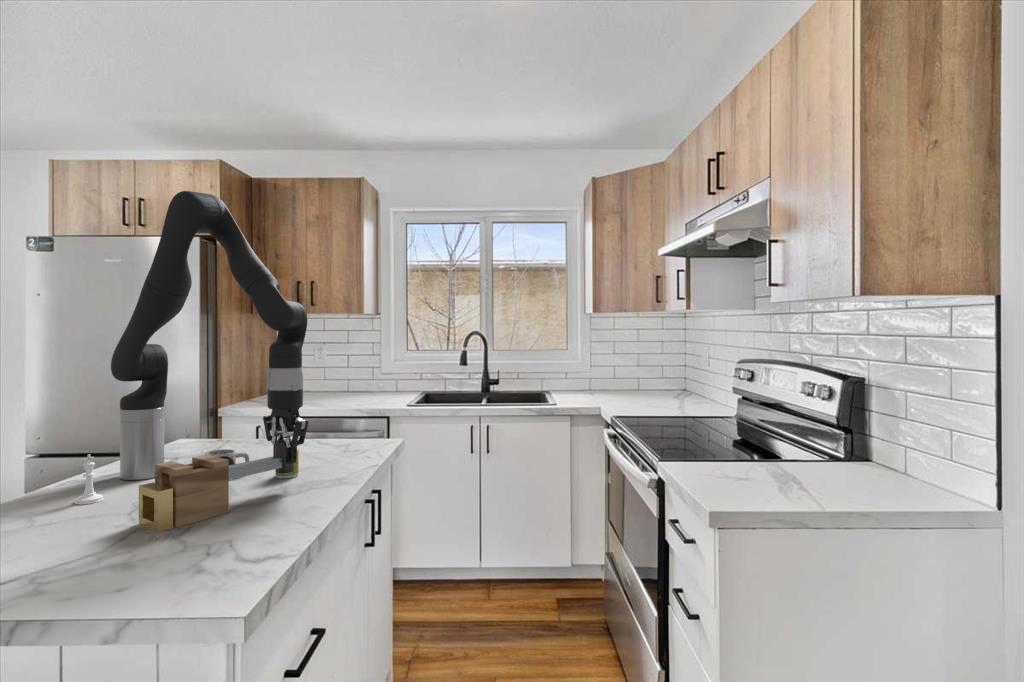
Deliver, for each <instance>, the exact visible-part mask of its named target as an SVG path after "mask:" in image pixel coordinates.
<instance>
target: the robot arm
mask: <svg viewBox="0 0 1024 682" xmlns="http://www.w3.org/2000/svg"><path fill="white" fill-rule="evenodd" d="M167 207H168V208H167V211H166V214H165V218H164V222H163V227H162V231H161V234H160V235H161V236H160V239H159V241H158V245H157V249H156V252H155V254H154V257H153V260H152V263H151V266H150V268H149V271H148V273H147V275H146V277H145V279H144V283H143V285H142V287H141V291H140V293H139V296H138V299H137V303H136V305H135V307H134V310H133V312H132V315H131V317H130V319H129V321H128V324H127V326H126V327H125V330H124V331H123V333H122V335H121V337H120V339H119V340H118V342H117V345H116V346H115V348H114V351H113V354H112V357H111V361H110V371H111V375H112V377H113V378H114V379H115V380H118V381H120V382H127V383H128V382H141V384H140V386H139V387H138V388H137V389H135V390H134V391H132V392H131V393H128V394H125V395H124V396H122V397H120V401H119V459H120V460H119V478H120V479H121V480H122V481H123V480H124V481H139V480H147V479H154V478H155V464H159V463H165V400H166V398H167V397H166V396H167V392H168V391H167V390H168V375H169V358H168V353H167V351H166V349H165V348H164V347H163V346H162V345H161V344H157V343H148V342H149V341H150V339H151V338H152V336H153V335H155V333H156V332H158V331H159V330H160V329H161V328H162V327H164V326H165V325H166V324H168V323H169V322H171V321H172V320H173V319H174V318H175V317H176V316H177V315H178V314H179V313H180V312H181V311H182V309H183V307H184V306H185V303H186V301H187V299H188V297H189V294H190V291H191V289H192V280H193V279H192V274H191V270H190V266H189V263H188V262H189V261H188V255H189V250H190V247H191V245H192V241H193V239H194V237H195V235H197V234H205V235H208V234H209V235H210V236H212V237H213V239H214V240H216V241H217V242H218V243H219V244H220V245H221V246H222V248H223V249H224V251H225V254H226V257H227V261H228V267H229V270H230V273H231V275H232V276H233V278H234V280H235V282H236V283H238V284H239V287H241V288H242V289H243V291H244V292H245V293H246V294H247V296H248V297H249V298H250V299H251V301H252V303H253V306H254V308H255V309H256V311H257V313H258V315H259V317H260V319H261V321H263V322H264V324H265V325H267V326H268V328H270V329H271V330H274V331H277V334H276V335H277V336H276V337H277V338H276V340H275V342H273V343H271V344H270V345H269V350H268V373H267V409H269V410H271V413H270V415H264V416H263V418H262V421H263V425H264V430H265V431H264V432H265V436H266V441H267V442H271V445H273V446H272V447H273V449H272V451H273V455H272V457H273V456H275V441H277V440H283V439H284V438H285V439H286V446H287V448H286V463H287V464H292V463H295V462H296V460H297V446H298V447H299V446H300V445H304V443H305V440H306V439H305V438H306V435H307V430H308V426H309V421H308V419H303V418H301V415H300V412H299V409H301V408H303V406H304V374H303V345H304V344H305V338H306V333H307V330H308V329H307V328H308V314H307V311H306V309H305V307H304V306H303V305H302V304H301V303H300V302H297V301H292V300H287V299H285V297H284V296H283V295H282V294H281V293H280V284H279V282H278V280H277V279H276V277H275V276H274V275H273V273H271V271H270V270H269V269H268V268H267V266H265V264H264V263H263V262H262V260H261V259H260V258H259V256H257V254H256V253H255V251H254V250H253V249H252V247H251V245H250V243H249V242H248V241H247V238H246V237H245V235H244V234H243V232H242V231H241V228H240V227H239V225H238V224H237V222H236V220H235V218H234V217H233V215H232V212H230V210H229V208H228V207H227V205H226V204H225V203H224V201H223V200H222V199H221V198H219V197H218V196H216V195H214V194H210V193H206V192H205V193H204V192H199V191H198V192H197V191H190V190H183V191H182V190H181V191H179V192H177V193H176V194H175V195H174V196H172V198H171V200H170V201H169V204H168V206H167ZM290 437H292V441H291V439H290Z"/></svg>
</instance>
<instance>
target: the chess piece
mask: <svg viewBox="0 0 1024 682" xmlns="http://www.w3.org/2000/svg"><path fill="white" fill-rule="evenodd" d="M83 460H84V461H87V462H84V463H83V464H82V466H83V468H84V471H85V473H84V474H82V477H84V478H85V479H86V480H85V485H84V493H82V495H81V496H78V497H76V498H75V499H74V504H75V505H81V506H83V505H90V504H96V503H99V502H102V501H103V500H104V499H105V498H104V496H103V494H99V493H97V492H96V491H95V489H94V482H93V477H94V476H96V473H95V472H93V470H94V468H95V465H96V463H95V462H93V461H91V460H95V456H91V453H90V454H87V457H84V458H83Z"/></svg>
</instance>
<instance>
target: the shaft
mask: <svg viewBox="0 0 1024 682" xmlns="http://www.w3.org/2000/svg"><path fill="white" fill-rule="evenodd" d="M291 441H292V439H291ZM286 448H287V446H286V439H283V440H277V441H275V456H273V455H272V456H269V457H263V458H260V459H254V460H249V461H248V462H245V461H244V462H239V463H235V464H234V465H229V481H232V480H235V479H239V478H243V477H247V476H251V475H253V476H254V475H257V474H261V473H266V472H269V471H273V470H275V474H276V473H280V474H283V473H290V472H293V471H294V463H292V464H287V463H286ZM231 479H232V480H231Z"/></svg>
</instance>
